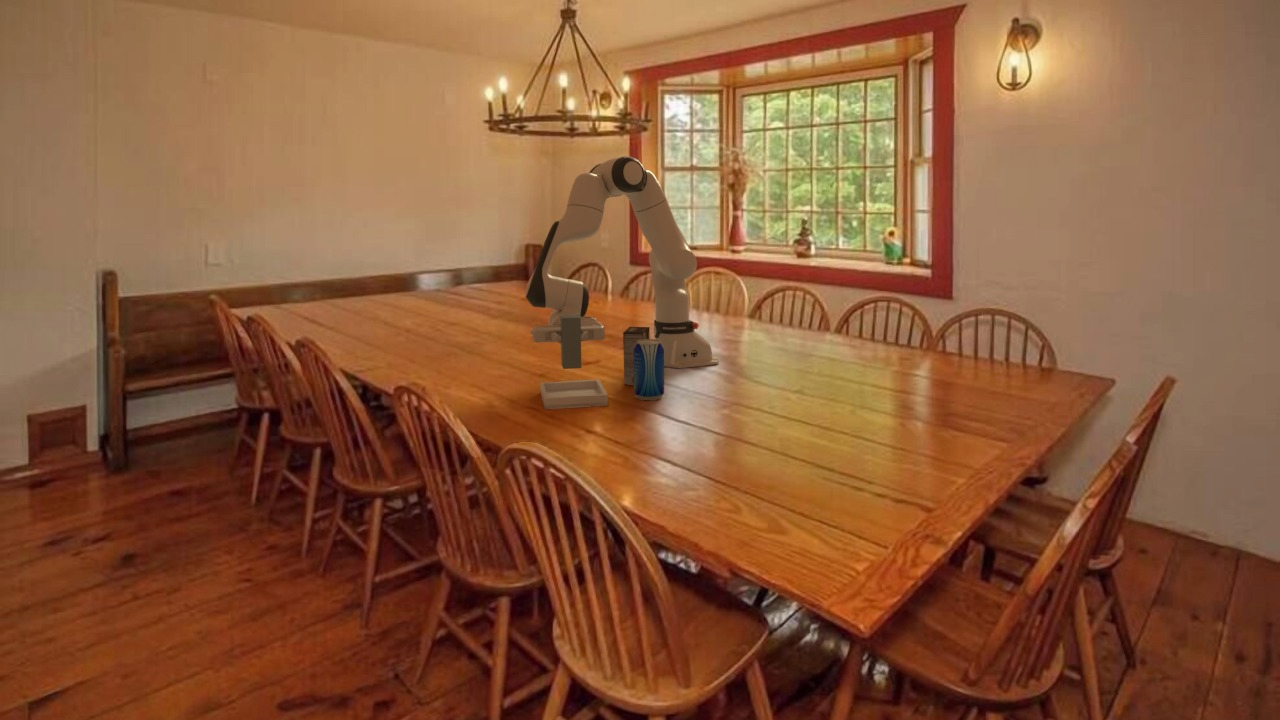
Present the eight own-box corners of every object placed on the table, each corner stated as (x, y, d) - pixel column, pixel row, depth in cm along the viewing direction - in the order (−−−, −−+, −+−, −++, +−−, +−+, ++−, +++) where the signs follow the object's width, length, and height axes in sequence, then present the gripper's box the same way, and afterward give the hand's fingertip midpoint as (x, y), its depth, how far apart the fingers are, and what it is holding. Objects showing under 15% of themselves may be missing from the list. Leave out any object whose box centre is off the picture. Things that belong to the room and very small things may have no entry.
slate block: (579, 363, 220) (578, 314, 216) (581, 368, 215) (580, 317, 212) (561, 364, 219) (560, 315, 216) (563, 368, 214) (561, 318, 211)
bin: (599, 389, 229) (598, 379, 228) (608, 405, 212) (607, 394, 212) (540, 392, 226) (540, 382, 225) (544, 409, 209) (544, 398, 209)
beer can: (633, 393, 224) (632, 338, 220) (662, 392, 224) (662, 338, 221) (635, 402, 215) (634, 345, 212) (665, 401, 216) (665, 344, 213)
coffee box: (630, 377, 242) (629, 326, 238) (650, 378, 241) (650, 326, 237) (623, 384, 233) (622, 331, 230) (644, 385, 232) (644, 332, 228)
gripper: (529, 319, 225) (532, 328, 212) (600, 317, 228) (607, 325, 215) (530, 341, 226) (533, 351, 213) (600, 338, 230) (607, 348, 217)
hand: (571, 338), depth 214 cm, fingers closed on slate block, 5 cm apart
